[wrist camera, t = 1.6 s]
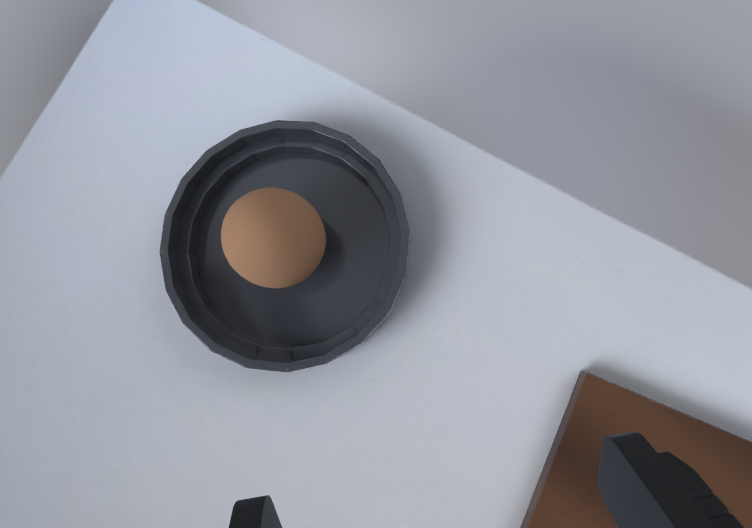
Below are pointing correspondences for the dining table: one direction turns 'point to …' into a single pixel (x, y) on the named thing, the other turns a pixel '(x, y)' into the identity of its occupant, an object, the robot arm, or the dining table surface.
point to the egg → (273, 237)
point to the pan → (328, 281)
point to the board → (660, 428)
